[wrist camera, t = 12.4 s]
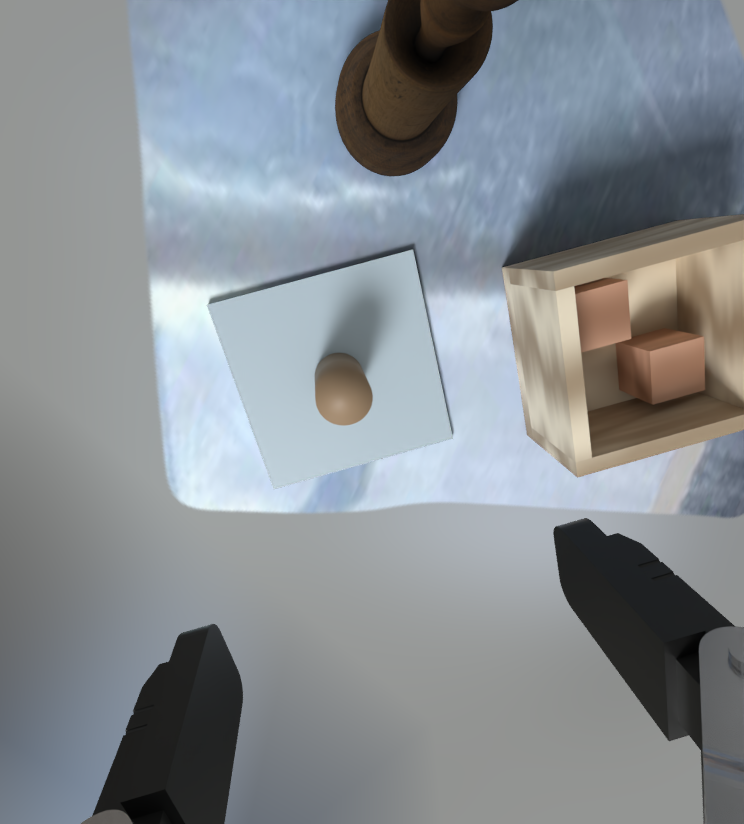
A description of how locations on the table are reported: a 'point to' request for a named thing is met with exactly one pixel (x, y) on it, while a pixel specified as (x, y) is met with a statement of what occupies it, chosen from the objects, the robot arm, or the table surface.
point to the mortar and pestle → (411, 81)
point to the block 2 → (661, 365)
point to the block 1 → (602, 313)
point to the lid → (335, 368)
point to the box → (649, 310)
